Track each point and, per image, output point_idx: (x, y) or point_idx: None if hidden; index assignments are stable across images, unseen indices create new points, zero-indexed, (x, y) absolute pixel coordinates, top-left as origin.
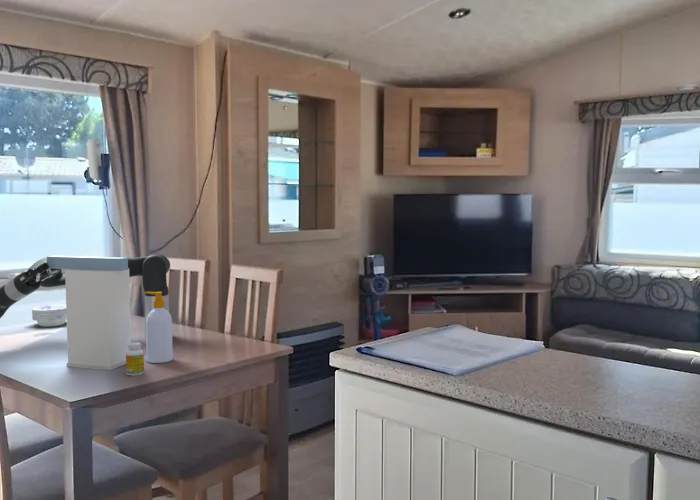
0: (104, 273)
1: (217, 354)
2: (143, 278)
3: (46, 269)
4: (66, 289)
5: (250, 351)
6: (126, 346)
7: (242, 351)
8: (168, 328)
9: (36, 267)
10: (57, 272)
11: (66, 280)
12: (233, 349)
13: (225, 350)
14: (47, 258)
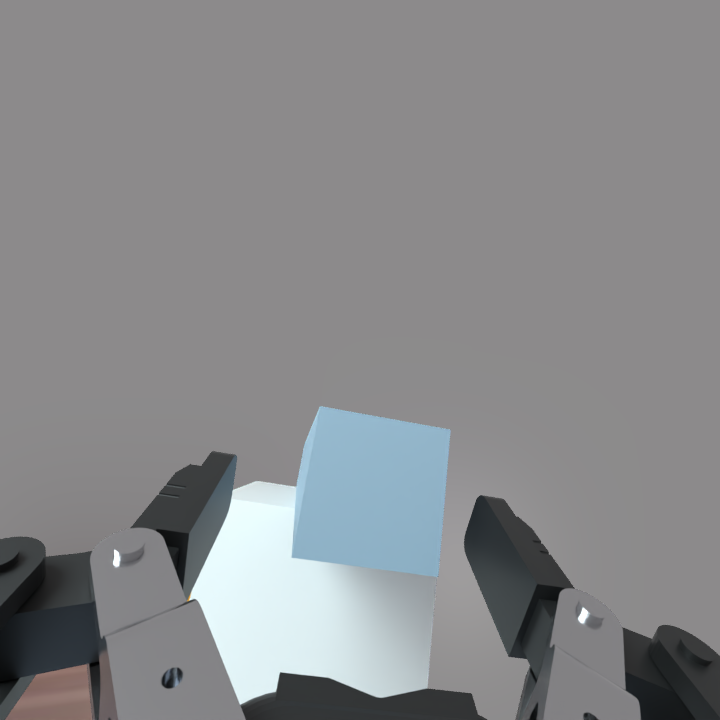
0: None
1: (90, 713)
2: None
3: (479, 578)
4: (427, 664)
5: (74, 666)
6: None
7: (68, 677)
8: None
9: (577, 594)
10: (8, 713)
11: (432, 596)
12: (31, 695)
13: (37, 707)
14: (445, 451)
